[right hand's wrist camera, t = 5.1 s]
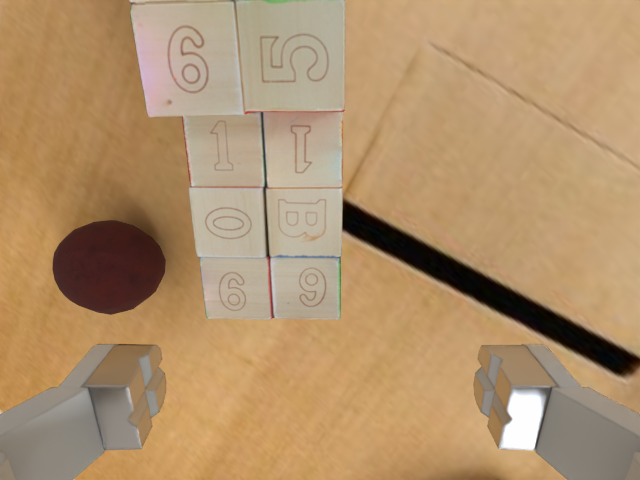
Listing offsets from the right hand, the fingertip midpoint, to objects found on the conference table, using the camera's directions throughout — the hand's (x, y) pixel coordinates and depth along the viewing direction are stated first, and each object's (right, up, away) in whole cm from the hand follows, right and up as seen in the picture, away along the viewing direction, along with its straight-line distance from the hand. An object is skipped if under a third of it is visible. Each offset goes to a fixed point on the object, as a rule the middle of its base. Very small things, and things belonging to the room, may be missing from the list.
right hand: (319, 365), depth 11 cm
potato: (-16, +2, +25) cm, 30 cm away
